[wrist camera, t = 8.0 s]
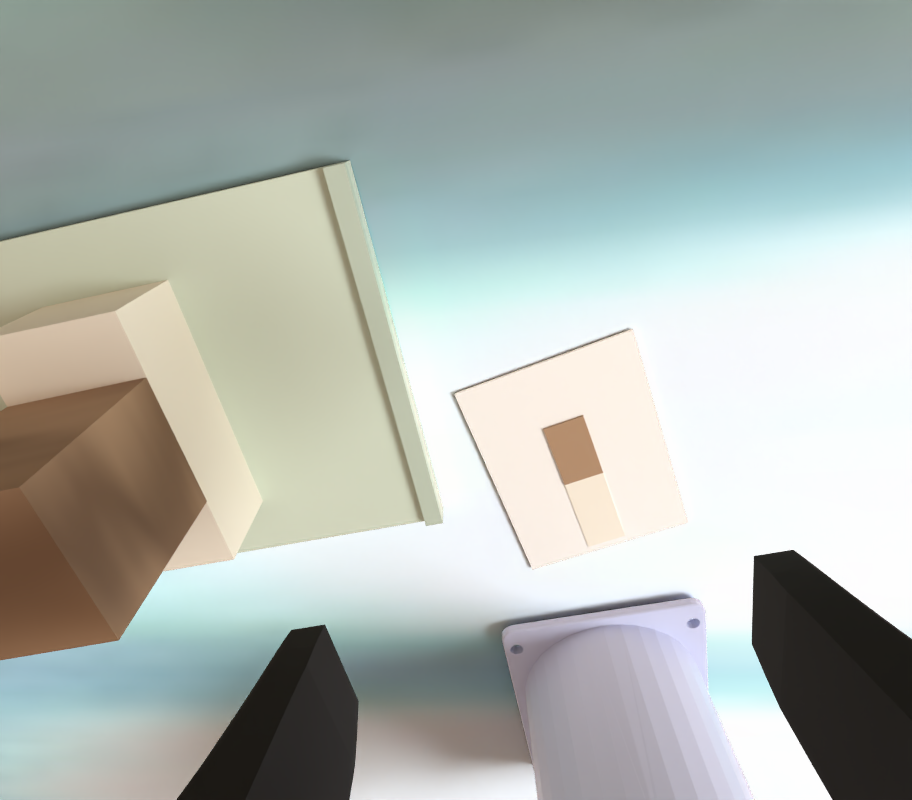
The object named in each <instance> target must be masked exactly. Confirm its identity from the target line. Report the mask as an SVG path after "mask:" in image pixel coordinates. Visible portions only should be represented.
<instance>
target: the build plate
mask: <svg viewBox="0 0 912 800" xmlns="http://www.w3.org/2000/svg"><path fill="white" fill-rule="evenodd" d="M165 280H168V281H169V283H170V285H171V288H172V290H173V292H174V295H175V297H176V299H177V302H178V304H179V306H180V309H181V311H182V313H183V316H184V318H185V320H186V323H187V325H188V327H189V330H190V332H191V334H192V337H193V339H194V341H195V344H196V346H197V348H198V351H199V353H200V355H201V358H202V360H203V363H204V365H205V367H206V370H207V372H208V374H209V377H210V379H211V381H212V384H213V386H214V388H215V391H216V393H217V395H218V398H219V400H220V402H221V405H222V407H223V409H224V412H225V414H226V416H227V419H228V421H229V423H230V426H231V428H232V430H233V433H234V435H235V437H236V440H237V442H238V444H239V447H240V449H241V451H242V454H243V456H244V458H245V461H246V463H247V465H248V468H249V470H250V472H251V475H252V477H253V479H254V482H255V484H256V486H257V489H258V491H259V493H260V496H261V498H262V500H263V502H262V504H261V506H260V508H259V510H258V512H257V514H256V516H255V518H254V520H253V522H252V524H251V526H250V528H249V530H248V532H247V534H246V536H245V538H244V540H243V542H242V544H241V546H240V548H239V550H238V552H237V553H240V552H246V551H252V550H258V549H263V548H269V547H275V546H281V545H287V544H293V543H299V542H304V541H310V540H316V539H322V538H328V537H334V536H339V535H345V534H351V533H357V532H363V531H369V530H375V529H380V528H386V527H392V526H398V525H404V524H410V523H416V522H421V521H425V524H426V526H429V525H435V524H440V523H443V505H442V501H441V497H440V494H439V490H438V486H437V482H436V479H435V475H434V471H433V468H432V464H431V460H430V456H429V453H428V449H427V445H426V442H425V438H424V434H423V430H422V427H421V423H420V419H419V415H418V412H417V408H416V404H415V401H414V397H413V393H412V389H411V386H410V382H409V378H408V375H407V371H406V367H405V363H404V360H403V356H402V352H401V349H400V345H399V341H398V337H397V334H396V330H395V326H394V323H393V319H392V315H391V311H390V308H389V304H388V300H387V296H386V293H385V289H384V285H383V282H382V278H381V274H380V270H379V267H378V263H377V259H376V256H375V252H374V248H373V244H372V241H371V237H370V233H369V230H368V226H367V222H366V218H365V215H364V211H363V207H362V204H361V200H360V196H359V192H358V189H357V185H356V181H355V177H354V174H353V170H352V166H351V163H350V160H349V161H345V162H341V163H336V164H332V165H328V166H323V167H319V168H315V169H310V170H306V171H302V172H297V173H293V174H289V175H284V176H280V177H276V178H271V179H267V180H263V181H258V182H254V183H250V184H245V185H241V186H237V187H232V188H228V189H224V190H219V191H215V192H211V193H206V194H202V195H198V196H193V197H189V198H185V199H180V200H176V201H172V202H167V203H163V204H159V205H154V206H150V207H146V208H141V209H137V210H133V211H128V212H124V213H120V214H115V215H111V216H107V217H102V218H98V219H94V220H89V221H85V222H81V223H76V224H72V225H68V226H63V227H59V228H55V229H50V230H46V231H41V232H37V233H33V234H28V235H24V236H20V237H15V238H11V239H7V240H2V241H0V327H2V326H4V325H6V324H8V323H10V322H12V321H15V320H17V319H19V318H21V317H23V316H25V315H27V314H29V313H31V312H33V311H35V310H38V309H40V308H42V307H45V306H50V305H54V304H59V303H64V302H68V301H73V300H77V299H82V298H87V297H91V296H96V295H100V294H105V293H110V292H114V291H119V290H123V289H128V288H132V287H137V286H142V285H146V284H151V283H155V282H160V281H165ZM6 407H7V405H6V404H5V402H4V401H3V399H2V397H1V396H0V411H2V410H3V409H5V408H6Z"/></svg>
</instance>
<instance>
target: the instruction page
mask: <svg viewBox="0 0 912 800" xmlns="http://www.w3.org/2000/svg"><path fill="white" fill-rule="evenodd" d="M454 395H455V397H456V399H457V402H458V404H459V406H460V408H461V410H462V413H463V415H464V417H465V419H466V422H467V424H468V426H469V428H470V431H471V433H472V435H473V437H474V440H475V442H476V444H477V446H478V449H479V451H480V453H481V455H482V457H483V460H484V462H485V464H486V466H487V469H488V471H489V473H490V475H491V478H492V480H493V482H494V484H495V487H496V489H497V491H498V493H499V495H500V498H501V500H502V502H503V504H504V507H505V509H506V511H507V513H508V516H509V518H510V520H511V522H512V525H513V527H514V529H515V531H516V534H517V536H518V538H519V540H520V542H521V545H522V547H523V549H524V551H525V554H526V556H527V558H528V560H529V563H530V565H531V567H532V569H536V568H540V567H543V566H546V565H550V564H553V563H556V562H559V561H563V560H566V559H569V558H573V557H576V556H579V555H583V554H586V553H589V552H592V551H596V550H599V549H602V548H606V547H609V546H612V545H615V544H619V543H622V542H625V541H629V540H632V539H635V538H639V537H642V536H645V535H648V534H652V533H655V532H658V531H662V530H665V529H668V528H671V527H675V526H678V525H681V524H685V523H688V520H687V517H686V513H685V510H684V506H683V503H682V499H681V496H680V492H679V489H678V485H677V482H676V478H675V475H674V471H673V468H672V464H671V461H670V457H669V454H668V450H667V447H666V443H665V440H664V436H663V433H662V429H661V426H660V422H659V419H658V415H657V412H656V408H655V405H654V401H653V398H652V394H651V391H650V387H649V384H648V380H647V377H646V373H645V370H644V366H643V363H642V359H641V356H640V352H639V349H638V346H637V342H636V339H635V335H634V332H633V329H630V330H627V331H624V332H622V333H619V334H616V335H613V336H611V337H608V338H605V339H602V340H600V341H597V342H594V343H591V344H589V345H586V346H583V347H580V348H578V349H575V350H572V351H569V352H567V353H564V354H561V355H558V356H556V357H553V358H550V359H547V360H545V361H542V362H539V363H536V364H534V365H531V366H528V367H525V368H523V369H520V370H517V371H514V372H512V373H509V374H506V375H503V376H501V377H498V378H495V379H492V380H490V381H487V382H484V383H481V384H479V385H476V386H473V387H470V388H467V389H465V390H462V391H459V392H456V393H454Z"/></svg>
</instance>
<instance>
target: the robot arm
mask: <svg viewBox="0 0 912 800" xmlns="http://www.w3.org/2000/svg"><path fill="white" fill-rule="evenodd" d="M690 619H693V620H690ZM689 620H690V621H689ZM502 642H503V646H504V650H505V655H506V659H507V663H508V667H509V671H510V675H511V679H512V683H513V687H514V691H515V695H516V699H517V703H518V708H519V712H520V716H521V720H522V724H523V728H524V732H525V736H526V740H527V744H528V748H529V752H530V756H531V761H532V765H533V769H534V773H535V782H536V790H537V799H538V800H755V799H754V797H753V794H752V792H751V790H750V787H749V785H748V783H747V780H746V778H745V776H744V774H743V771H742V769H741V767H740V764H739V762H738V760H737V757H736V755H735V753H734V750H733V748H732V746H731V743H730V741H729V739H728V736H727V734H726V732H725V729H724V727H723V725H722V723H721V720H720V718H719V716H718V713H717V711H716V709H715V706H714V704H713V702H712V699H711V697H710V695H709V692H708V666H707V639H706V612H705V608H704V606H703V604H702V602H701V601H700V600H699V599H695V598H686V599H680V600H673V601H667V602H660V603H654V604H647V605H641V606H634V607H627V608H621V609H614V610H608V611H601V612H595V613H588V614H582V615H575V616H568V617H562V618H555V619H549V620H542V621H536V622H529V623H523V624H516V625H511V626H508V627H506V628H505V629H504V630H503V631H502ZM514 645H520V646H514ZM752 645H753V648H754V650H755V652H756V655H757V657H758V659H759V662H760V664H761V666H762V669H763V671H764V673H765V676H766V678H767V680H768V682H769V685H770V687H771V689H772V691H773V693H774V696H775V698H776V700H777V702H778V704H779V707H780V709H781V710H782V712H783V714H784V716H785V717H786V719H787V721H788V723H789V725H790V726H791V728H792V730H793V732H794V733H795V735H796V737H797V739H798V740H799V742H800V744H801V746H802V747H803V749H804V751H805V753H806V754H807V756H808V758H809V760H810V761H811V763H812V765H813V767H814V768H815V770H816V772H817V774H818V775H819V777H820V779H821V780H822V782H823V784H824V786H825V787H826V789H827V791H828V793H829V794H830V796H831V798H832V799H833V800H912V639H911V638H910V637H908V636H907V635H906V634H904V633H903V632H901V631H900V630H899V629H897V628H896V627H895V626H893V625H892V624H890V623H889V622H888V621H886V620H885V619H884V618H882V617H881V616H880V615H878V614H877V613H876V612H874V611H873V610H872V609H870V608H869V607H868V606H866V605H865V604H864V603H862V602H861V601H860V600H858V599H857V598H856V597H854V596H853V595H852V594H850V593H849V592H848V591H847V590H845V589H844V588H843V587H841V586H840V585H839V584H837V583H836V582H835V581H833V580H832V579H831V578H830V577H828V576H827V575H826V574H824V573H823V572H822V571H820V570H819V569H818V568H817V567H815V566H814V565H813V564H811V563H810V562H809V561H807V560H806V559H805V558H804V557H802V556H801V555H800V554H798V553H797V552H795V551H794V550H790V551H784V552H777V553H771V554H765V555H759V556H754V577H753V617H752ZM357 722H358V699H357V697H356V695H355V692H354V690H353V688H352V686H351V683H350V681H349V679H348V676H347V674H346V672H345V670H344V667H343V665H342V663H341V660H340V658H339V656H338V654H337V651H336V649H335V647H334V644H333V642H332V640H331V638H330V635H329V633H328V631H327V628H326V626H325V625H320V626H314V627H308V628H301V629H295V630H291V631H290V633H289V634H288V635H287V637H286V638H285V640H284V641H283V643H282V644H281V646H280V647H279V649H278V650H277V652H276V653H275V655H274V657H273V658H272V660H271V661H270V663H269V664H268V666H267V667H266V669H265V671H264V672H263V674H262V675H261V677H260V678H259V680H258V681H257V683H256V685H255V686H254V688H253V689H252V691H251V692H250V694H249V695H248V697H247V698H246V700H245V702H244V703H243V705H242V706H241V708H240V709H239V711H238V712H237V714H236V715H235V717H234V718H233V720H232V721H231V723H230V724H229V726H228V727H227V729H226V730H225V732H224V733H223V735H222V736H221V737H220V739H219V740H218V742H217V743H216V745H215V746H214V748H213V749H212V751H211V752H210V754H209V755H208V757H207V758H206V760H205V761H204V762H203V764H202V765H201V767H200V768H199V770H198V771H197V772H196V774H195V775H194V776H193V778H192V779H191V781H190V782H189V783H188V785H187V786H186V787H185V789H184V790H183V792H182V793H181V794H180V796H179V797H178V798H177V800H349V798H350V792H351V786H352V780H353V774H354V767H355V755H356V741H357Z"/></svg>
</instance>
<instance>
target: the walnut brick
mask: <svg viewBox="0 0 912 800" xmlns="http://www.w3.org/2000/svg"><path fill="white" fill-rule="evenodd" d="M206 502H207V500H206V498H205V496H204V494H203V492H202V490H201V488H200V486H199V484H198V482H197V480H196V478H195V476H194V474H193V472H192V470H191V468H190V466H189V464H188V461H187V459H186V457H185V455H184V453H183V451H182V449H181V447H180V445H179V443H178V441H177V439H176V437H175V435H174V433H173V431H172V429H171V427H170V425H169V423H168V421H167V419H166V417H165V415H164V413H163V410H162V408H161V406H160V404H159V402H158V400H157V398H156V396H155V394H154V392H153V390H152V388H151V386H150V384H149V382H148V380H147V378H141V379H136V380H132V381H127V382H122V383H118V384H113V385H108V386H103V387H99V388H94V389H89V390H85V391H80V392H75V393H70V394H66V395H61V396H56V397H52V398H47V399H42V400H38V401H33V402H28V403H23V404H19V405H14V406H9V407H6V408H5V409H3V410H2V411H0V660H5V659H11V658H16V657H22V656H28V655H34V654H40V653H46V652H52V651H58V650H64V649H70V648H76V647H82V646H88V645H94V644H100V643H106V642H112V641H118V640H119V639H120V637H121V636H122V634H123V633H124V631H125V630H126V628H127V626H128V625H129V623H130V622H131V620H132V619H133V617H134V615H135V614H136V612H137V611H138V609H139V608H140V606H141V604H142V603H143V601H144V600H145V598H146V597H147V595H148V593H149V592H150V590H151V589H152V587H153V586H154V584H155V582H156V581H157V579H158V578H159V576H160V575H161V573H162V571H163V570H164V568H165V567H166V565H167V564H168V562H169V560H170V559H171V557H172V556H173V554H174V553H175V551H176V549H177V548H178V546H179V545H180V543H181V542H182V540H183V538H184V537H185V535H186V534H187V532H188V531H189V529H190V527H191V526H192V524H193V523H194V521H195V520H196V518H197V516H198V515H199V513H200V512H201V510H202V509H203V507H204V505H205V504H206Z"/></svg>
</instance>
